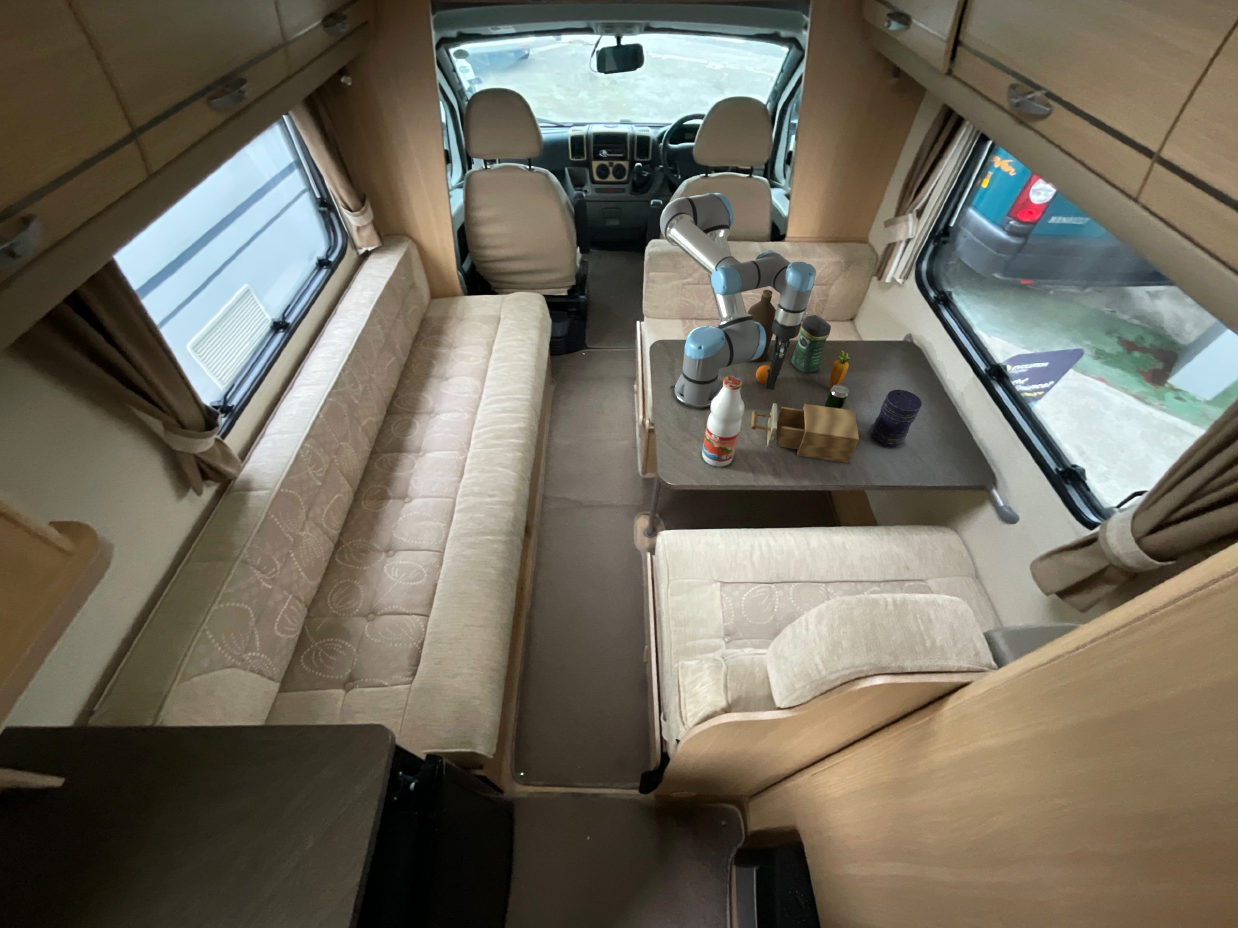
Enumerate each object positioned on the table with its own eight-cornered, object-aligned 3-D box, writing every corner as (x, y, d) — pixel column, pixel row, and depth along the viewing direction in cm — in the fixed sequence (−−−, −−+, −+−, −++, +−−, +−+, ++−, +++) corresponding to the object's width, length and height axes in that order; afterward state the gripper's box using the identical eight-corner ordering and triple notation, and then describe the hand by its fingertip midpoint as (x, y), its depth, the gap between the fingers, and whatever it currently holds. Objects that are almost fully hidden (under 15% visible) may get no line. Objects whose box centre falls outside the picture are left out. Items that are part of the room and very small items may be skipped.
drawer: (747, 444, 169) (752, 424, 163) (749, 419, 177) (754, 400, 171) (813, 454, 166) (820, 434, 160) (811, 428, 174) (818, 409, 168)
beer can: (819, 422, 178) (830, 393, 169) (820, 412, 181) (831, 382, 173) (837, 426, 177) (849, 396, 168) (837, 415, 180) (849, 386, 172)
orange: (754, 386, 190) (757, 371, 185) (754, 375, 195) (758, 360, 190) (773, 389, 189) (777, 373, 185) (773, 378, 194) (777, 362, 189)
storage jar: (908, 446, 171) (929, 408, 160) (880, 450, 169) (898, 412, 159) (891, 424, 178) (909, 387, 167) (863, 428, 176) (880, 391, 165)
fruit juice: (739, 455, 166) (758, 380, 146) (721, 472, 161) (738, 396, 141) (713, 440, 171) (728, 365, 151) (695, 456, 166) (707, 381, 146)
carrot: (841, 394, 188) (855, 357, 177) (826, 394, 188) (840, 357, 177) (837, 385, 191) (851, 348, 181) (823, 385, 191) (836, 348, 181)
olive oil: (751, 366, 198) (766, 302, 180) (732, 351, 205) (745, 288, 187) (774, 357, 202) (790, 294, 184) (754, 343, 209) (769, 281, 191)
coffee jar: (821, 371, 197) (837, 325, 184) (802, 376, 195) (817, 329, 182) (805, 356, 203) (819, 311, 190) (787, 360, 201) (800, 315, 188)
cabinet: (797, 455, 167) (805, 431, 160) (796, 427, 176) (804, 403, 169) (848, 463, 165) (859, 439, 158) (844, 434, 174) (854, 410, 167)
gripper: (801, 335, 148) (780, 403, 165) (802, 310, 157) (782, 377, 174) (773, 330, 149) (755, 399, 166) (775, 306, 158) (758, 373, 175)
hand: (769, 387), depth 170 cm, fingers closed
